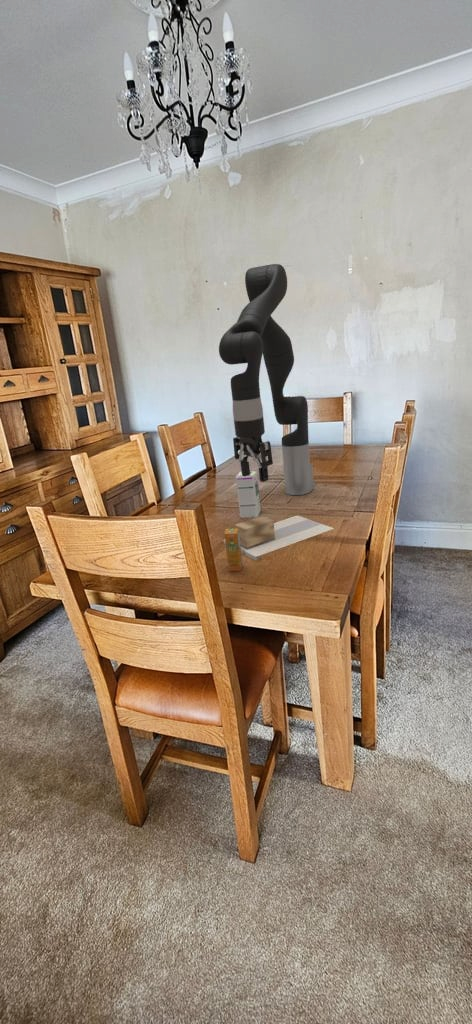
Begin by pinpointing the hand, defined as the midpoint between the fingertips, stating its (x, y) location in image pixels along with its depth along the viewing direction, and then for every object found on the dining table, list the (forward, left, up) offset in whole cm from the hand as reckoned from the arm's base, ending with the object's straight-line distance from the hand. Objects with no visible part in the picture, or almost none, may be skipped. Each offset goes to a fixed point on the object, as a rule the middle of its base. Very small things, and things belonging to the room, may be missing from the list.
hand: (254, 478), depth 126 cm
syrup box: (-8, -17, -18) cm, 26 cm away
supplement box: (+15, +11, -18) cm, 26 cm away
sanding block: (+3, +3, -16) cm, 17 cm away
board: (-4, +3, -18) cm, 18 cm away
